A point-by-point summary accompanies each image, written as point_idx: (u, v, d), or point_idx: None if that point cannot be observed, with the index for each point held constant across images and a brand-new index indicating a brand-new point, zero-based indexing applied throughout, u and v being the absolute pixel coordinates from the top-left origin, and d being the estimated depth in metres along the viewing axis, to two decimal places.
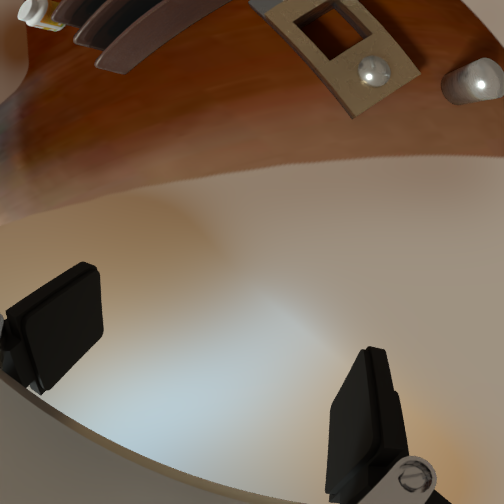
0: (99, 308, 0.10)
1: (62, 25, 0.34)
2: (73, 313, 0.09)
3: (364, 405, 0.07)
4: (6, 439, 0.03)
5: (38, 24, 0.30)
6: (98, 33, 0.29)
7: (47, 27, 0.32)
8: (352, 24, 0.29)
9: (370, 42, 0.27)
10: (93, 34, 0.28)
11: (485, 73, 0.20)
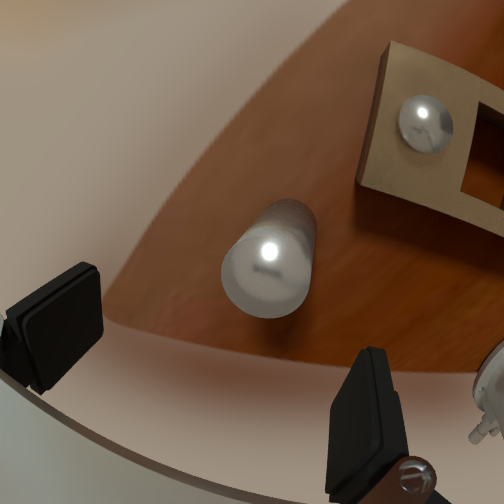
0: (99, 308, 0.10)
1: None
2: (73, 313, 0.09)
3: (364, 405, 0.07)
4: (6, 439, 0.03)
5: None
6: None
7: None
8: None
9: (455, 173, 0.16)
10: None
11: (279, 275, 0.15)
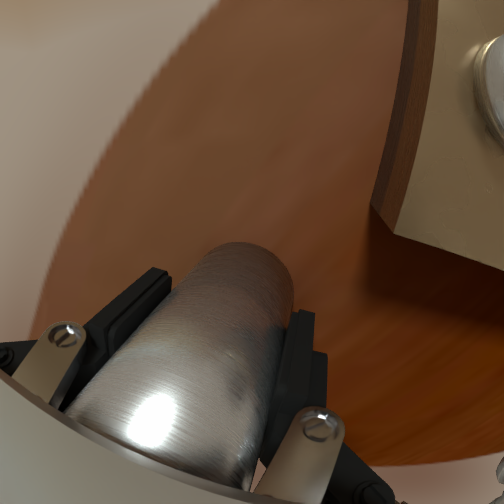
0: None
1: None
2: None
3: (283, 358, 0.08)
4: (6, 439, 0.03)
5: None
6: None
7: None
8: None
9: None
10: None
11: None
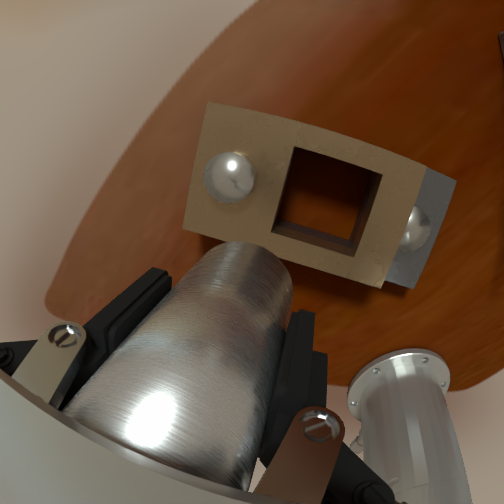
0: None
1: None
2: None
3: (283, 358, 0.08)
4: (6, 439, 0.02)
5: None
6: None
7: None
8: (311, 231, 0.26)
9: (264, 216, 0.23)
10: None
11: None
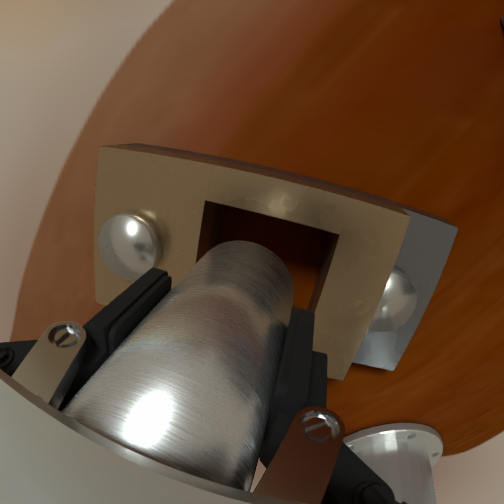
0: None
1: None
2: None
3: (283, 358, 0.08)
4: (6, 439, 0.03)
5: None
6: None
7: None
8: None
9: None
10: None
11: None
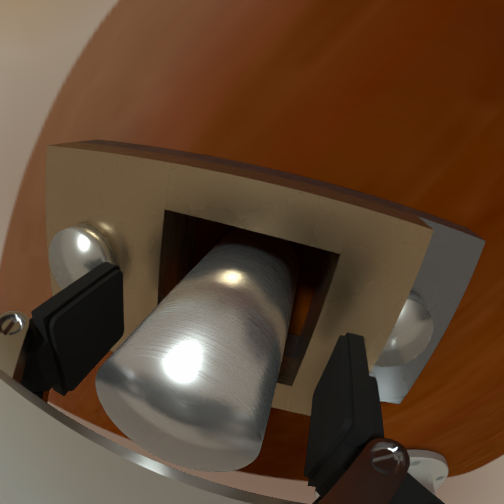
0: (121, 308, 0.11)
1: None
2: (97, 313, 0.09)
3: (339, 387, 0.07)
4: (6, 439, 0.03)
5: None
6: None
7: None
8: None
9: None
10: None
11: (197, 425, 0.06)
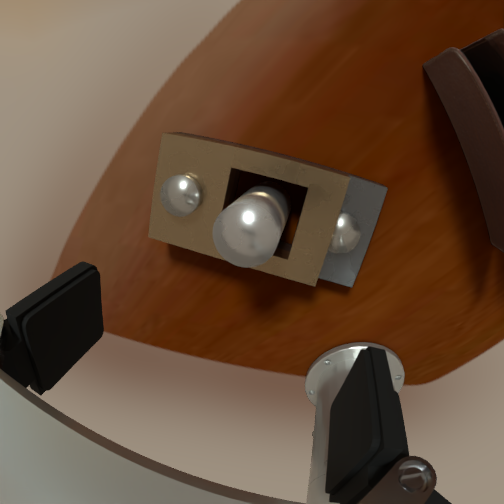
0: (99, 308, 0.10)
1: None
2: (73, 313, 0.09)
3: (364, 405, 0.07)
4: (6, 439, 0.03)
5: None
6: (503, 64, 0.14)
7: None
8: None
9: (211, 226, 0.27)
10: None
11: (255, 233, 0.20)
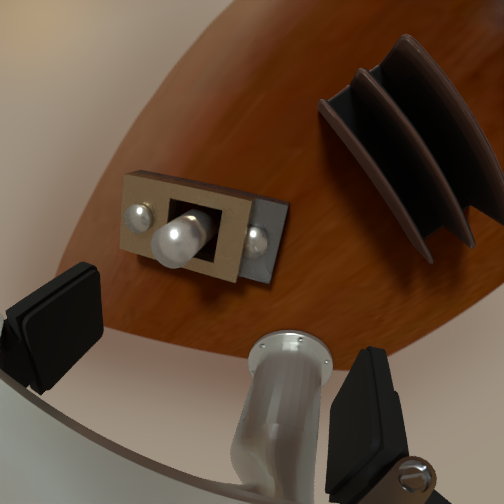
0: (99, 308, 0.10)
1: None
2: (73, 313, 0.09)
3: (364, 405, 0.07)
4: (6, 439, 0.03)
5: None
6: (373, 96, 0.24)
7: None
8: None
9: None
10: (372, 92, 0.23)
11: (176, 245, 0.30)
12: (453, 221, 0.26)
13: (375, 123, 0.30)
